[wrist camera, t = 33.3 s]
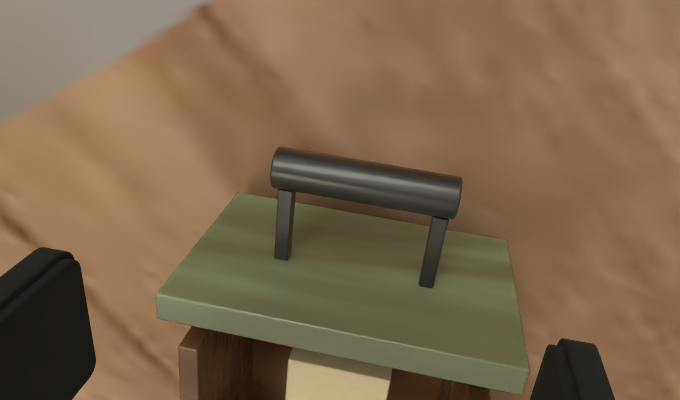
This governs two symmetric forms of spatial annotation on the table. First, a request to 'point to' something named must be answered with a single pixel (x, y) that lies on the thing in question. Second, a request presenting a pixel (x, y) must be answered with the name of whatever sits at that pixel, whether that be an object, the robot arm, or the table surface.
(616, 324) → the table surface
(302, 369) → the block
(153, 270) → the table surface
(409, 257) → the drawer
